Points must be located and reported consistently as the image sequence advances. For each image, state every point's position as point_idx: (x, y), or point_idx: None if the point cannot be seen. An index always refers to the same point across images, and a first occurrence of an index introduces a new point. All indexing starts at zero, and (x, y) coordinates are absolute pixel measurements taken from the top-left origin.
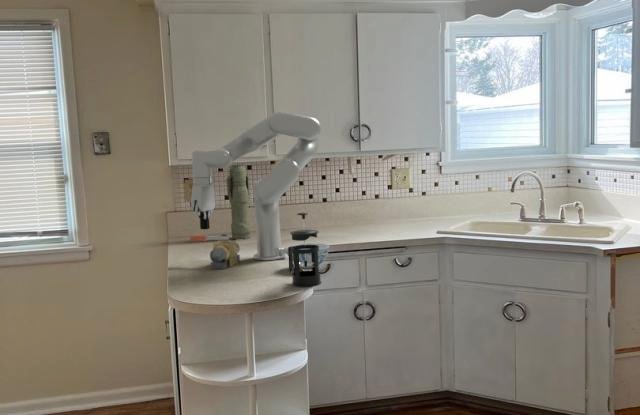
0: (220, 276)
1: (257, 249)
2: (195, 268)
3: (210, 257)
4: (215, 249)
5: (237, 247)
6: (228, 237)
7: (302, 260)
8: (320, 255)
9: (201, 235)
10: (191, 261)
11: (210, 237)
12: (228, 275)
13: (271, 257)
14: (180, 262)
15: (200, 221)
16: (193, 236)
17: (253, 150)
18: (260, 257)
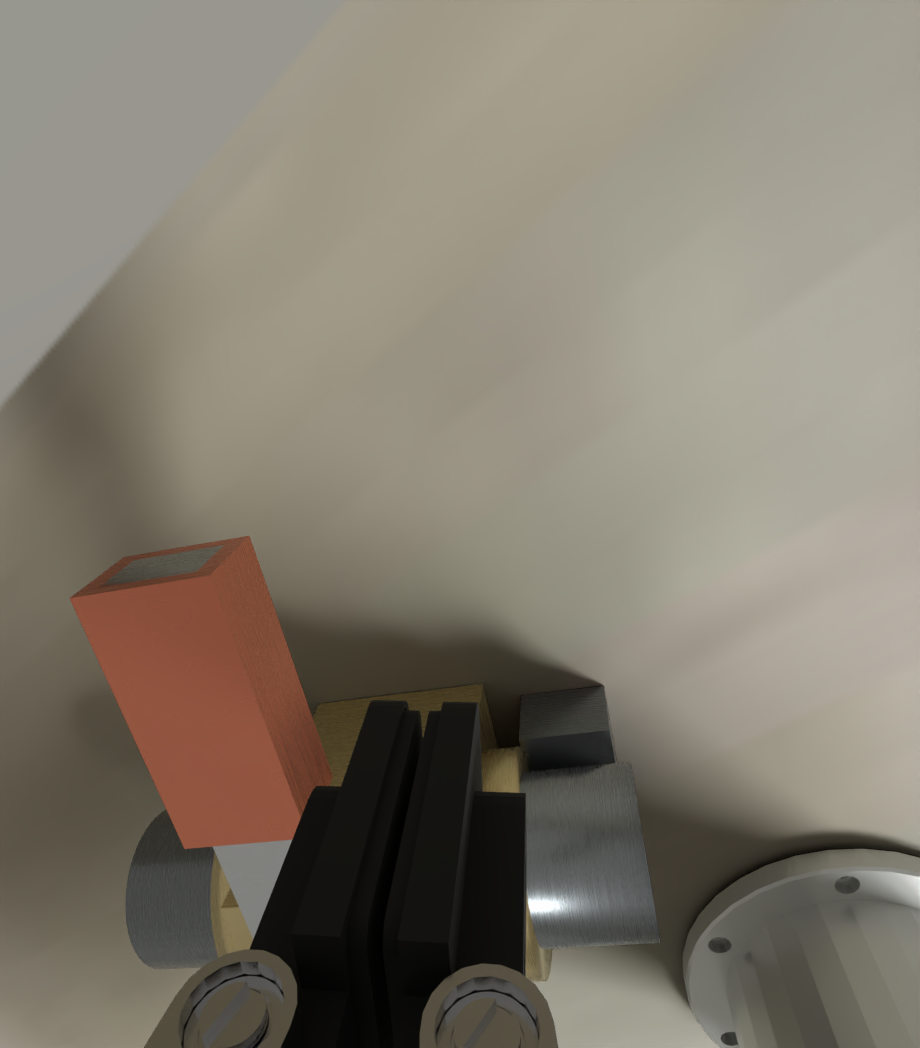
0: (62, 912)
1: (786, 992)
2: None
3: (157, 819)
4: (136, 946)
5: (550, 954)
6: None
7: None
8: None
9: (222, 764)
10: (475, 258)
11: (246, 903)
12: (114, 944)
13: (714, 1041)
14: (371, 139)
15: (320, 864)
16: (104, 660)
17: None
18: (695, 969)
